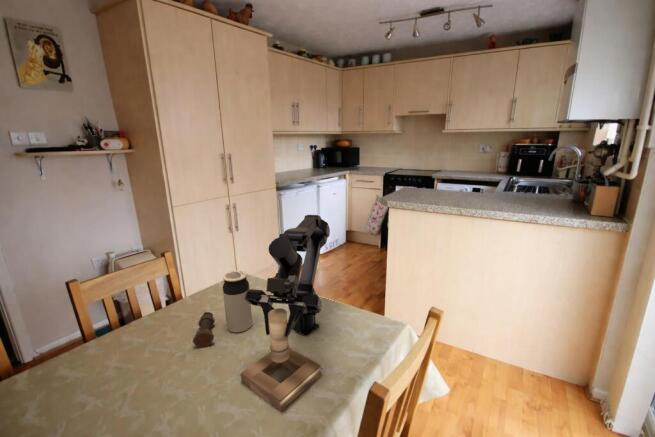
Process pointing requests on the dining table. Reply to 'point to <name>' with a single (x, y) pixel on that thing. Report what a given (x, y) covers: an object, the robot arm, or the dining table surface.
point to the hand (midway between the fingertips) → (276, 335)
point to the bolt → (204, 331)
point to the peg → (278, 335)
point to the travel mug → (236, 301)
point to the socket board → (288, 389)
